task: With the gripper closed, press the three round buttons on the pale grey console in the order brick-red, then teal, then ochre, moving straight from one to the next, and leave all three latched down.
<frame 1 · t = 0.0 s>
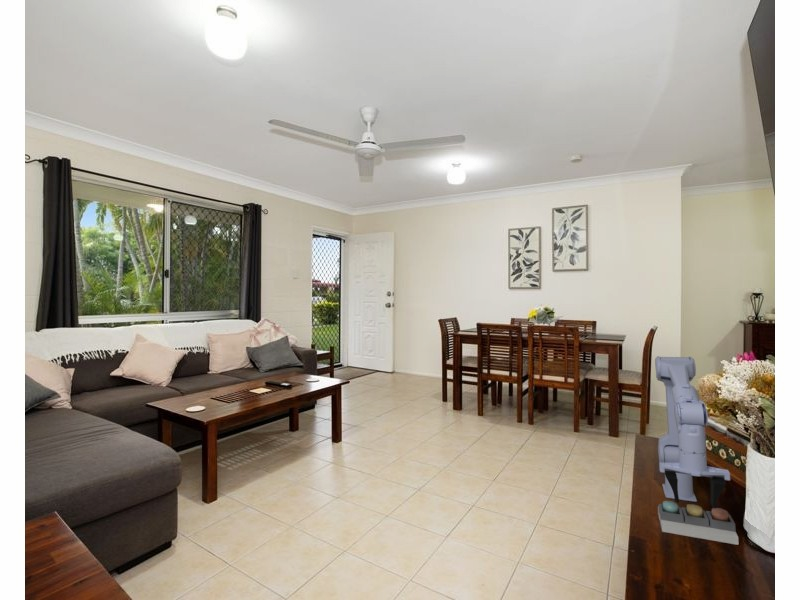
hand: (694, 503, 105), 10 cm above the sideboard, fingers open, 7 cm apart
light switch: (682, 470, 148), on the sideboard
ochre button: (694, 510, 111), point 5 cm above the sideboard, slide at 0.0 cm
console: (695, 528, 111), on the sideboard
brick button: (719, 514, 109), point 5 cm above the sideboard, slide at 0.0 cm
teal button: (670, 507, 114), point 5 cm above the sideboard, slide at 0.0 cm
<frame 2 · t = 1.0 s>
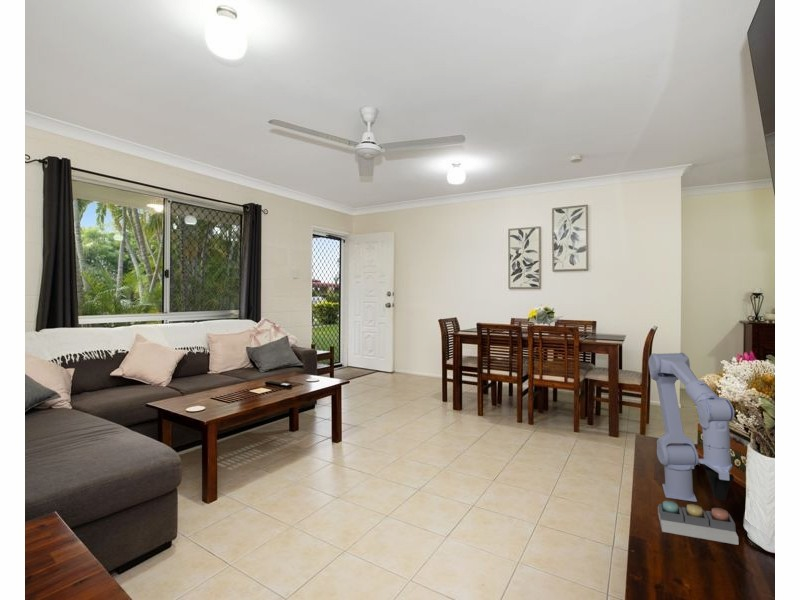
hand: (718, 496, 109), 9 cm above the sideboard, fingers closed
nothing on the sideboard moved.
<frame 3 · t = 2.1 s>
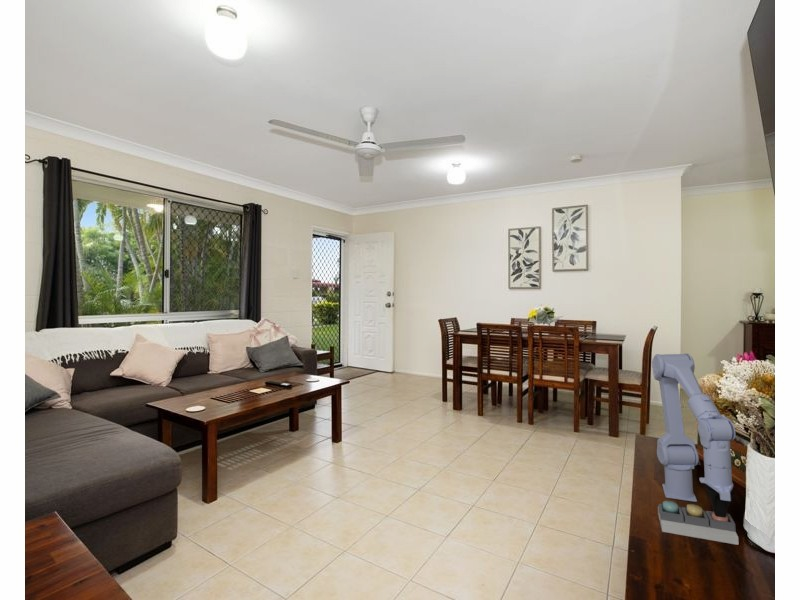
hand: (720, 515, 109), 4 cm above the sideboard, fingers closed, pressing on brick button
brick button: (720, 519, 109), point 3 cm above the sideboard, slide at 1.2 cm, touching gripper
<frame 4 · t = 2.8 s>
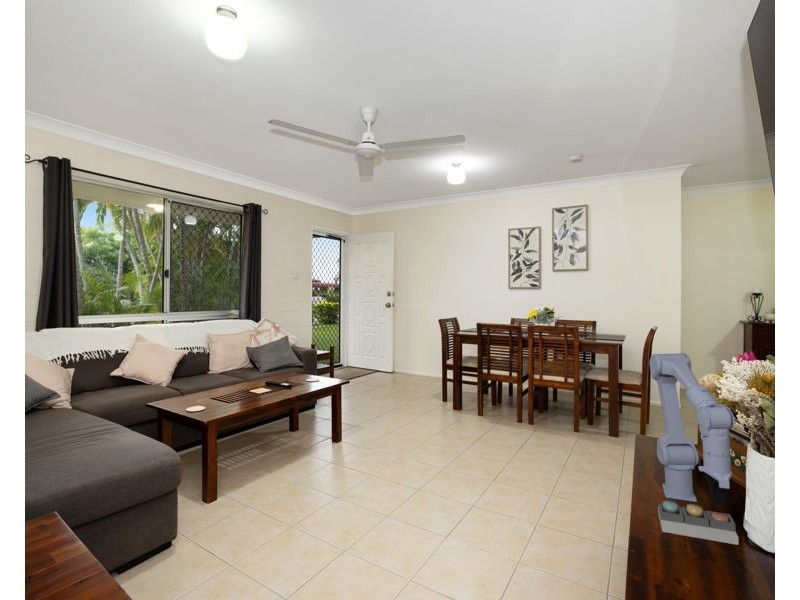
hand: (718, 504, 109), 7 cm above the sideboard, fingers closed
brick button: (720, 519, 109), point 3 cm above the sideboard, slide at 1.2 cm
everything else where it was.
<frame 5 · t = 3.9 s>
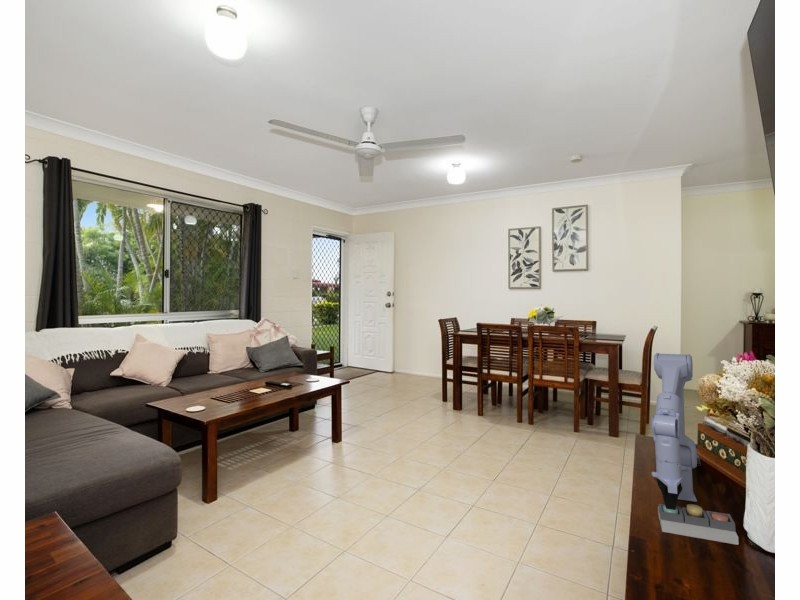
hand: (670, 508, 114), 4 cm above the sideboard, fingers closed, pressing on teal button
teal button: (670, 511, 114), point 3 cm above the sideboard, slide at 1.2 cm, touching gripper
everything else where it was.
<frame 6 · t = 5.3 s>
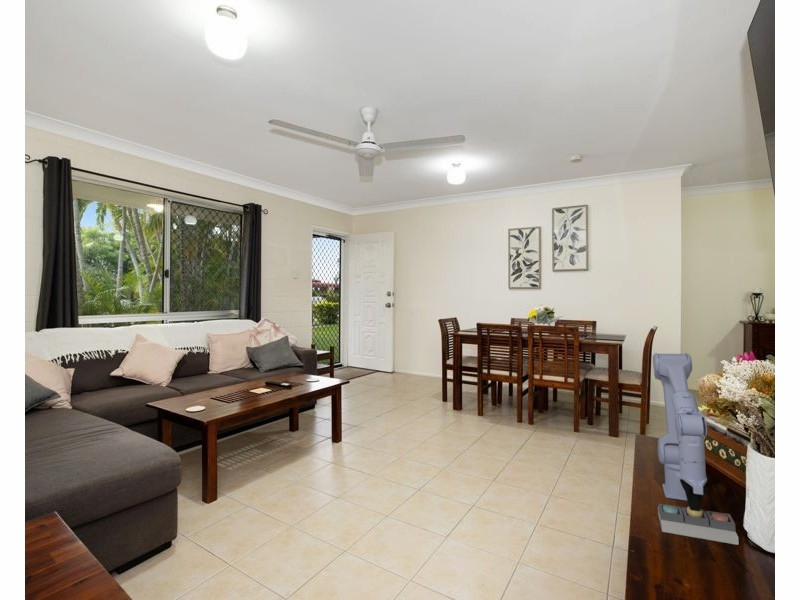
hand: (694, 509, 111), 5 cm above the sideboard, fingers closed, pressing on ochre button
ochre button: (694, 512, 111), point 4 cm above the sideboard, slide at 0.6 cm, touching gripper
teal button: (670, 511, 114), point 3 cm above the sideboard, slide at 1.2 cm
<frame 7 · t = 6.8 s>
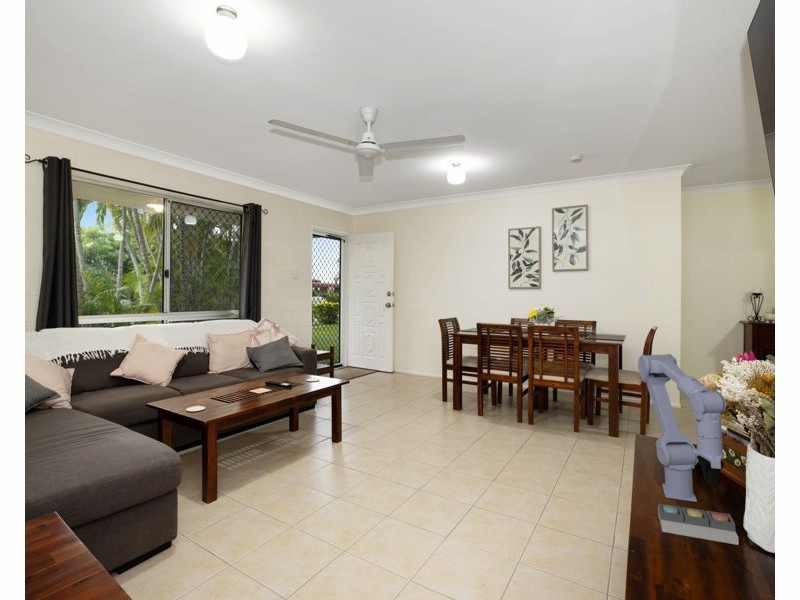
hand: (711, 484, 115), 10 cm above the sideboard, fingers closed
ochre button: (694, 515, 111), point 3 cm above the sideboard, slide at 1.2 cm
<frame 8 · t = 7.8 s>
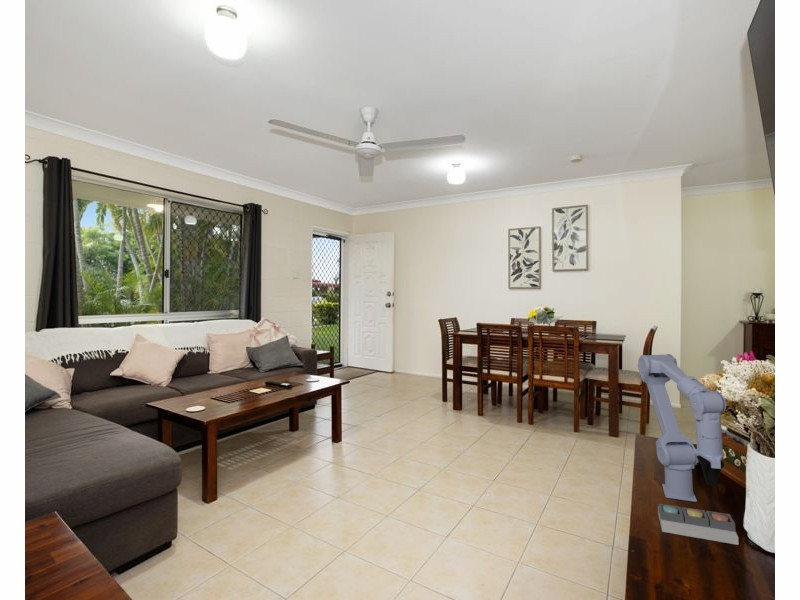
hand: (711, 484, 115), 10 cm above the sideboard, fingers closed
at the end: brick button slide at 1.2 cm; teal button slide at 1.2 cm; ochre button slide at 1.2 cm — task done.
